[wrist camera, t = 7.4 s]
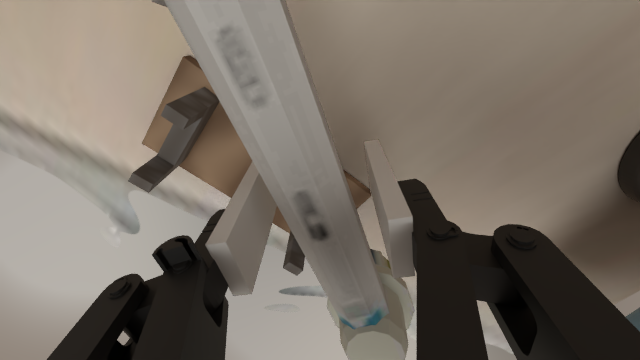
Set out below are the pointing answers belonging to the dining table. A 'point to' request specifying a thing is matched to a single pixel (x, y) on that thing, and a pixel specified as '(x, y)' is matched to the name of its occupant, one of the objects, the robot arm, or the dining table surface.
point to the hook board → (208, 146)
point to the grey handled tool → (298, 162)
